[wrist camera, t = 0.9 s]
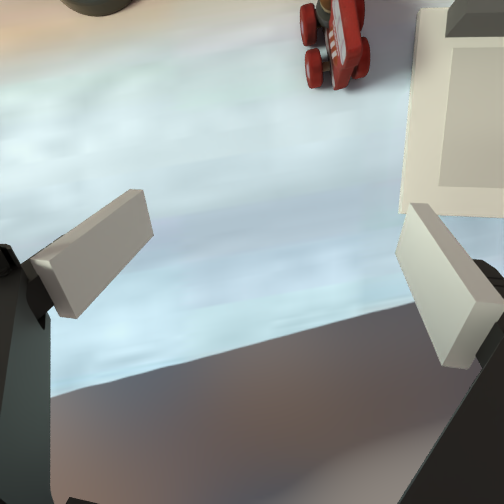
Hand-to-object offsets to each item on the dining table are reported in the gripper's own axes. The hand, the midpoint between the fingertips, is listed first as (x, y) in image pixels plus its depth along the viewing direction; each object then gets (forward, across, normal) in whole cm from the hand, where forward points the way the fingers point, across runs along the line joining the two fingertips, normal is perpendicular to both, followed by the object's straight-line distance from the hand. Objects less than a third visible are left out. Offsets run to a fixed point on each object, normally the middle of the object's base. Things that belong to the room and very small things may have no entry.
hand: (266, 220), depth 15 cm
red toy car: (+33, +4, +8) cm, 34 cm away
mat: (+30, +23, 0) cm, 38 cm away
